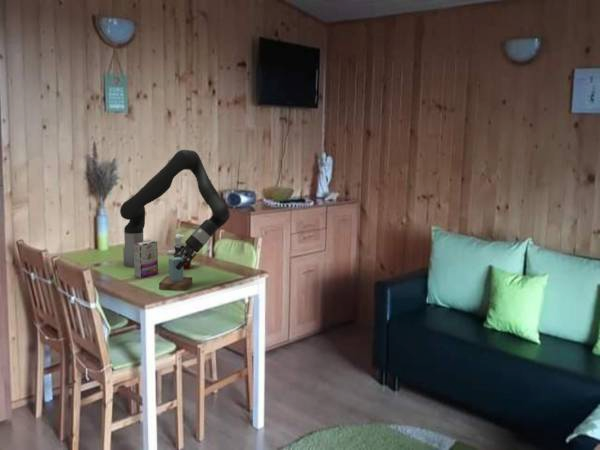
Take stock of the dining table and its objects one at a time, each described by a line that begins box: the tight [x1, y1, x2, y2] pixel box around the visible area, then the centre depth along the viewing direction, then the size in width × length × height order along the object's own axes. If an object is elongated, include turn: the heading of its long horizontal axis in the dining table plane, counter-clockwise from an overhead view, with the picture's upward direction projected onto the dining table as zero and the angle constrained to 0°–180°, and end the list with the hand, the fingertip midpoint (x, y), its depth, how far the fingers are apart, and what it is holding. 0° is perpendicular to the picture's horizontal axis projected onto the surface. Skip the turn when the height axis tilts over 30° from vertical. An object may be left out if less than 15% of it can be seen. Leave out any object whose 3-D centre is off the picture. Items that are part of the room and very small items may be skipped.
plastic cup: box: [173, 242, 192, 270], centre depth 305 cm, size 11×11×12 cm
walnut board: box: [158, 275, 193, 292], centre depth 272 cm, size 12×12×3 cm
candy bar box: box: [133, 239, 159, 279], centre depth 288 cm, size 11×5×16 cm, turn 148°
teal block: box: [168, 256, 184, 282], centre depth 271 cm, size 5×5×10 cm
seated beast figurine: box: [166, 233, 185, 256], centre depth 333 cm, size 10×9×12 cm
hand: (173, 266), depth 270 cm, fingers open, 8 cm apart
